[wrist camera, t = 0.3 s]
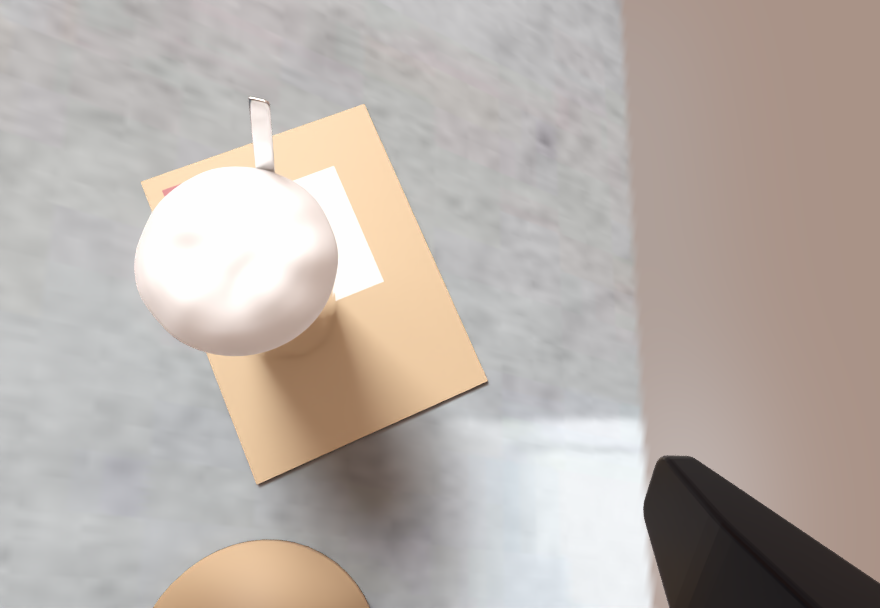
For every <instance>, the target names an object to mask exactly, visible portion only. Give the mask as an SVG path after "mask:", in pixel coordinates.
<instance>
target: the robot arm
mask: <svg viewBox="0 0 880 608" xmlns="http://www.w3.org/2000/svg"><path fill="white" fill-rule="evenodd" d="M643 510H644V519H645V523H646V527H647V530H648V534H649V537H650V541H651V544H652V548H653V552H654V555H655V558H656V562H657V566H658V569H659V573H660V576H661V580H662V583H663V587H664V590H665V594H666V597H667V601H668V604H669V608H880V583H879V582H877V581H876V580H874V579H873V578H871V577H870V576H868V575H866V574H865V573H864V572H862V571H861V570H859V569H858V568H856V567H855V566H853V565H852V564H850V563H849V562H847V561H846V560H844V559H843V558H841V557H840V556H839V555H837V554H836V553H834V552H833V551H831V550H830V549H828V548H827V547H825V546H823V545H822V544H821V543H819V542H818V541H816V540H815V539H813V538H812V537H810V536H809V535H807V534H806V533H805V532H803V531H802V530H800V529H799V528H797V527H796V526H794V525H793V524H791V523H790V522H788V521H787V520H785V519H784V518H782V517H781V516H779V515H778V514H776V513H775V512H773V511H772V510H770V509H769V508H767V507H766V506H764V505H763V504H762V503H760V502H758V501H757V500H755V499H754V498H753V497H751V496H750V495H748V494H747V493H745V492H744V491H742V490H741V489H739V488H738V487H736V486H735V485H733V484H732V483H730V482H729V481H728V480H726V479H724V478H723V477H721V476H720V475H719V474H717V473H716V472H714V471H712V470H711V469H710V468H708V467H706V466H705V465H704V464H702V463H701V462H699V461H698V460H696V459H695V458H693V457H689V456H663V457H661V458H660V459H659V460H658V461H657V463H656V465H655V468H654V471H653V474H652V478H651V481H650V484H649V487H648V490H647V494H646V497H645V500H644V507H643Z"/></svg>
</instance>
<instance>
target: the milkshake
mask: <svg viewBox="0 0 880 608" xmlns="http://www.w3.org/2000/svg"><path fill="white" fill-rule="evenodd" d="M248 100H249V111H250V121H251V130H252V139H253V149H254V158H255V167H256V168H252V167H237V166H234V167H221V168H215V169H211V170H208V171H205V172H203V173H200V174H198V175H196V176H194V177H192V178H190V179H188V180H187V181H185V182H183V183H182V184H180V185H179V186H177V187H176V188H175V189H173V190H172V191H171V192H170V193H168V194H167V195H166V196H165V197H164V198H163V199H162V200H161V201H160V202H159V203H158V205H157V206H156V207H155V209H154V210H153V212H152V214H151V216H150V217H149V219H148V222H147V224H146V226H145V228H144V230H143V233H142V235H141V237H140V240H139V243H138V246H137V250H136V255H135V279H136V285H137V289H138V292H139V294H140V296H141V298H142V300H143V302H144V303H145V305H146V306H147V308H148V309H149V311H150V312H151V313H152V315H153V316H154V317H155V318H156V319H157V321H158V322H159V323H160V324H161V325H162V326H163V327H164V328H165V329H166V330H167V331H168V332H169V333H170V334H171V335H172V336H173V337H175V338H176V339H177V340H179V341H180V342H182V343H184V344H186V345H188V346H190V347H192V348H195V349H198V350H200V351H204V352H207V353H211V354H216V355H223V356H268V357H287V356H302V355H307V354H308V353H309V352H311V351H312V350H313V349H314V348H315V347H317V346H318V345H319V344H320V343H322V342H323V341H324V340H325V339H327V338H328V336H329V333H330V329H331V325H332V322H333V318H334V315H335V311H336V300H335V281H336V274H337V268H338V248H337V243H336V239H335V236H334V233H333V230H332V228H331V225H330V223H329V221H328V219H327V217H326V215H325V213H324V211H323V209H322V208H321V206H320V205H319V203H318V202H317V200H316V199H315V198H314V197H313V196H312V195H311V194H310V193H309V192H308V191H307V190H306V189H304V188H303V187H302V186H300V185H299V184H297V183H296V182H294V181H292V180H290V179H288V178H286V177H284V176H281V175H279V174H276V173H275V166H274V152H273V138H272V124H271V111H270V103H269V102H268V101H266V100H263V99H259V98H255V97H249V99H248Z"/></svg>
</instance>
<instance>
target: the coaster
mask: <svg viewBox="0 0 880 608" xmlns="http://www.w3.org/2000/svg"><path fill="white" fill-rule="evenodd" d="M153 608H370V607H369V605H368V603H367V600H366V598H365V596H364V595H363V593H362V592H361V590H360V588H359V587H358V585H357V584H356V582H355V581H354V580H353V579H352V578H351V577H350V576H349V574H348V573H347V572H346V571H345V570H344V569H343V568H341V567H340V566H339V565H338V564H337V563H336V562H335V561H333V560H332V559H330V558H329V557H327V556H326V555H324V554H322V553H321V552H318V551H316V550H314V549H312V548H310V547H308V546H304V545H301V544H298V543H295V542H289V541H283V540H255V541H247V542H243V543H239V544H235V545H231V546H229V547H226V548H224V549H221V550H218V551H216V552H214V553H213V554H211V555H209V556H207V557H205V558H203V559H202V560H200V561H199V562H197V563H196V564H195V565H193V566H192V567H190V568H189V569H188V570H187V571H185V572H184V573H183V574H182V575H181V576H180V577H179V578H178V579H177V580H175V581H174V582H173V583H172V584H171V585H170V586H169V588H168V589H167V590H166V591H165V592H164V593H163V595H162V596H161V597H160V598H159V600H158V601H157V603H156V604H155V606H154V607H153Z"/></svg>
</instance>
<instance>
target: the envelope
mask: <svg viewBox="0 0 880 608" xmlns="http://www.w3.org/2000/svg"><path fill="white" fill-rule="evenodd" d="M272 138H273V152H274V166H275V173H276V174H279V175H281V176H284V177H286V178H288V179H290V180H292V181H294V182H296V183H297V184H299V185H300V186H302V187H303V188H304V189H306V190H307V191H308V192H309V193H310V194H311V195H312V196H313V197H314V198H315V199H316V200H317V202H318V203H319V205H320V206H321V208H322V209H323V211H324V213H325V215H326V217H327V219H328V221H329V223H330V225H331V228H332V230H333V233H334V236H335V239H336V243H337V248H338V268H337V274H336V281H335V300H336V311H335V315H334V318H333V322H332V325H331V329H330V333H329V336H328V338H327V339H325V340H324V341H323V342H322V343H320V344H319V345H318V346H317V347H315V348H314V349H313V350H312V351H311V352H309V353H308V354H307V355H302V356H287V357H268V356H223V355H216V354H211V353H207V352H206V353H207V356H208V359H209V361H210V364H211V366H212V369H213V372H214V374H215V377H216V379H217V382H218V385H219V387H220V390H221V392H222V395H223V398H224V400H225V403H226V406H227V408H228V411H229V413H230V416H231V419H232V421H233V424H234V426H235V429H236V432H237V434H238V437H239V439H240V442H241V445H242V447H243V450H244V452H245V455H246V458H247V460H248V463H249V465H250V468H251V471H252V473H253V476H254V479H255V481H256V484H259V483H262V482H264V481H266V480H268V479H271V478H273V477H275V476H277V475H280V474H282V473H284V472H286V471H288V470H291V469H293V468H295V467H297V466H300V465H302V464H304V463H306V462H309V461H311V460H313V459H315V458H317V457H320V456H322V455H324V454H326V453H329V452H331V451H333V450H335V449H337V448H340V447H342V446H344V445H346V444H349V443H351V442H353V441H355V440H358V439H360V438H362V437H364V436H366V435H369V434H371V433H373V432H375V431H378V430H380V429H382V428H384V427H386V426H389V425H391V424H393V423H395V422H398V421H400V420H402V419H404V418H407V417H409V416H411V415H413V414H415V413H418V412H420V411H422V410H424V409H427V408H429V407H431V406H433V405H436V404H438V403H440V402H442V401H444V400H447V399H449V398H451V397H453V396H456V395H458V394H460V393H462V392H464V391H467V390H469V389H471V388H473V387H476V386H478V385H480V384H482V383H485V382H487V381H488V380H487V378H486V376H485V373H484V371H483V369H482V367H481V364H480V362H479V360H478V358H477V355H476V353H475V351H474V349H473V346H472V344H471V342H470V340H469V337H468V335H467V333H466V331H465V328H464V326H463V324H462V322H461V320H460V317H459V315H458V313H457V311H456V308H455V306H454V304H453V302H452V299H451V297H450V295H449V293H448V290H447V288H446V286H445V284H444V281H443V279H442V277H441V275H440V272H439V270H438V268H437V266H436V263H435V261H434V259H433V257H432V254H431V252H430V250H429V248H428V246H427V243H426V241H425V239H424V237H423V234H422V232H421V230H420V228H419V225H418V223H417V221H416V219H415V216H414V214H413V212H412V210H411V207H410V205H409V203H408V201H407V198H406V196H405V194H404V192H403V189H402V187H401V185H400V183H399V181H398V178H397V176H396V174H395V172H394V169H393V167H392V165H391V163H390V160H389V158H388V156H387V154H386V151H385V149H384V147H383V145H382V142H381V140H380V138H379V136H378V133H377V131H376V129H375V127H374V124H373V122H372V120H371V118H370V116H369V113H368V111H367V109H366V107H365V104H363V105H360V106H357V107H354V108H351V109H348V110H346V111H343V112H340V113H337V114H334V115H331V116H328V117H325V118H323V119H320V120H317V121H314V122H311V123H308V124H305V125H303V126H300V127H297V128H294V129H291V130H288V131H285V132H282V133H280V134H277V135H274V136H272ZM234 166H237V167H252V168H256V167H255V158H254V149H253V143H251V144H248V145H245V146H242V147H239V148H236V149H234V150H231V151H228V152H225V153H222V154H219V155H216V156H213V157H211V158H208V159H205V160H202V161H199V162H196V163H193V164H191V165H188V166H185V167H182V168H179V169H176V170H173V171H170V172H168V173H165V174H162V175H159V176H156V177H153V178H150V179H147V180H145V181H142V182H141V184H142V187H143V189H144V192H145V194H146V197H147V200H148V202H149V205H150V207H151V210H152V212H153V210H154V209H155V207H156V206H157V205H158V203H159V202H160V201H161V200H162V199H163V198H164V197H165V196H166V195H167V194H168V193H170V192H171V191H172V190H173V189H175V188H176V187H177V186H179V185H180V184H182V183H183V182H185V181H187V180H188V179H190V178H192V177H194V176H196V175H198V174H200V173H203V172H205V171H208V170H211V169H215V168H221V167H234Z"/></svg>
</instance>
